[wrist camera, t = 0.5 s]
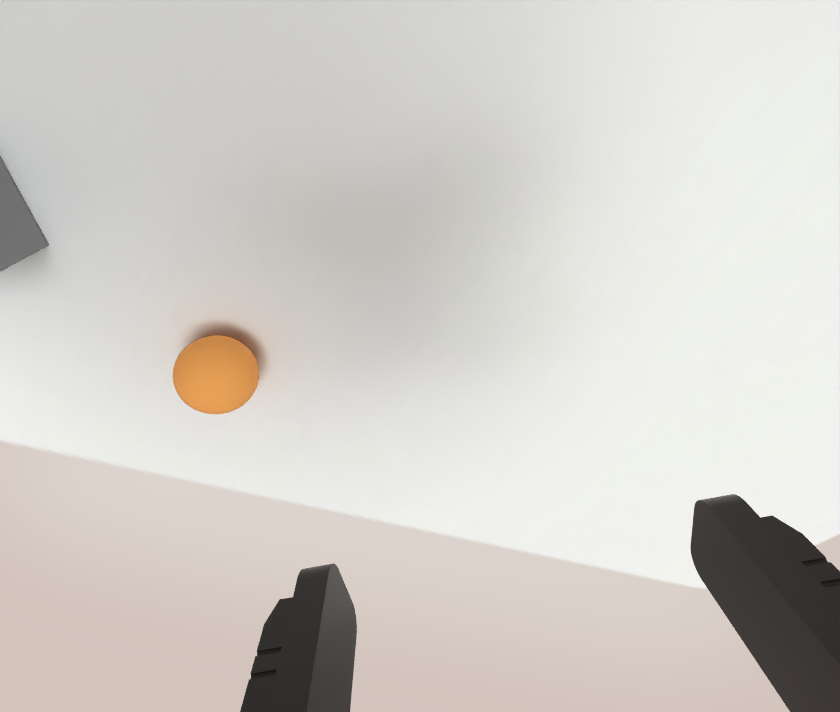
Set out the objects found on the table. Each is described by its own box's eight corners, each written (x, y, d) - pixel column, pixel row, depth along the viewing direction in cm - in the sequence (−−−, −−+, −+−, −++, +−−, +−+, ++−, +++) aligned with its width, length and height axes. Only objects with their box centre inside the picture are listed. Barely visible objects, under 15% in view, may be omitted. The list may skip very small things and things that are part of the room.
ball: (177, 326, 30) (144, 369, 25) (253, 317, 30) (234, 358, 26) (204, 387, 32) (178, 435, 28) (274, 378, 32) (259, 425, 28)
